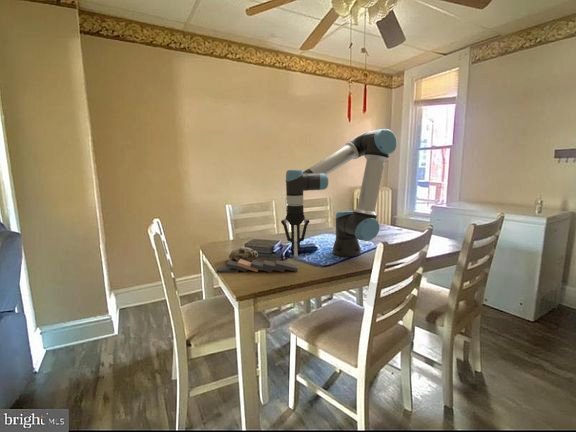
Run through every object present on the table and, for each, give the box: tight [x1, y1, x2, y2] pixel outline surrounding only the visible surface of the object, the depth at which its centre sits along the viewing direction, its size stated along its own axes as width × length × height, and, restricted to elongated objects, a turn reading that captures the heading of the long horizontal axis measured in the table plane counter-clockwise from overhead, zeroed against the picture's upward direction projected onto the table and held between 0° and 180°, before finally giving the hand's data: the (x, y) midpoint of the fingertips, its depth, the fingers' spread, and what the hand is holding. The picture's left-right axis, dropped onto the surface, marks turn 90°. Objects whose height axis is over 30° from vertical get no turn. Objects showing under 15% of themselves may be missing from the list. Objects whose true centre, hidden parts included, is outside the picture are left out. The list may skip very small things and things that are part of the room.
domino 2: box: [225, 259, 249, 273], centre depth 143 cm, size 2×5×10 cm
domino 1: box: [216, 266, 240, 274], centre depth 143 cm, size 2×5×10 cm
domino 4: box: [250, 259, 273, 273], centre depth 141 cm, size 2×5×10 cm
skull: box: [228, 246, 259, 263], centre depth 154 cm, size 10×16×10 cm
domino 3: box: [237, 259, 260, 273], centre depth 142 cm, size 2×5×10 cm
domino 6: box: [275, 259, 299, 273], centre depth 141 cm, size 2×5×10 cm
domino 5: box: [263, 259, 286, 273], centre depth 141 cm, size 2×5×10 cm
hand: (295, 255), depth 140 cm, fingers closed
